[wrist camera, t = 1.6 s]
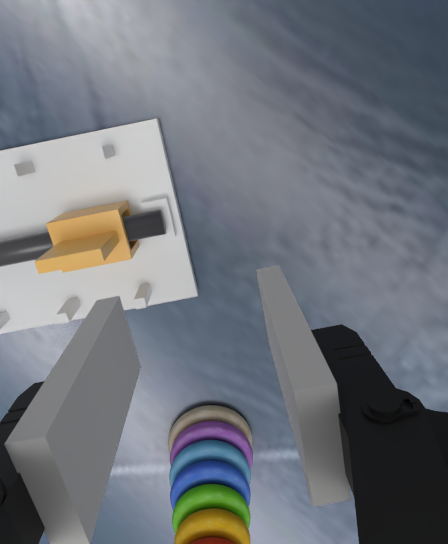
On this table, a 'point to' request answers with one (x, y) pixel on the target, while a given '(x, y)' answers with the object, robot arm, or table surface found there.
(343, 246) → the table surface
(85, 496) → the robot arm
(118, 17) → the table surface
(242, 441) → the stacking toy
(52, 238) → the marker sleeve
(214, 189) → the table surface
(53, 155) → the slider track board
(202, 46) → the table surface
